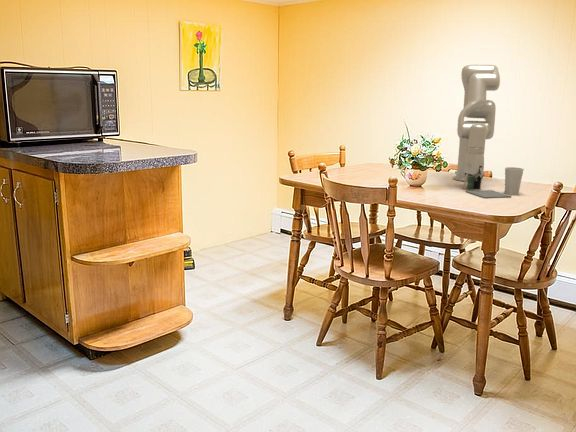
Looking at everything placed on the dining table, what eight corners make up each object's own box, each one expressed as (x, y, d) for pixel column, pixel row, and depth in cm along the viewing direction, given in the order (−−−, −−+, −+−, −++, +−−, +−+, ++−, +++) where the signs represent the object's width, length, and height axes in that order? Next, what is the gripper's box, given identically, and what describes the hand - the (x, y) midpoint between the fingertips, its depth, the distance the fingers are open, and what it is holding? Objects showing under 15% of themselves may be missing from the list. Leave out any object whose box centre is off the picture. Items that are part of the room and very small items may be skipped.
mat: (465, 192, 253) (465, 190, 253) (491, 191, 256) (491, 190, 256) (484, 198, 239) (484, 197, 239) (511, 197, 242) (511, 196, 242)
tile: (463, 189, 260) (465, 175, 258) (478, 189, 262) (479, 175, 260) (465, 190, 258) (467, 176, 257) (480, 190, 260) (482, 175, 258)
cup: (508, 195, 247) (511, 169, 244) (499, 192, 254) (501, 167, 252) (524, 195, 248) (527, 169, 246) (513, 191, 256) (516, 167, 253)
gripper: (459, 149, 263) (456, 184, 267) (479, 153, 247) (475, 191, 251) (472, 148, 265) (469, 184, 269) (493, 152, 248) (489, 190, 252)
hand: (472, 187), depth 260 cm, fingers open, 6 cm apart
